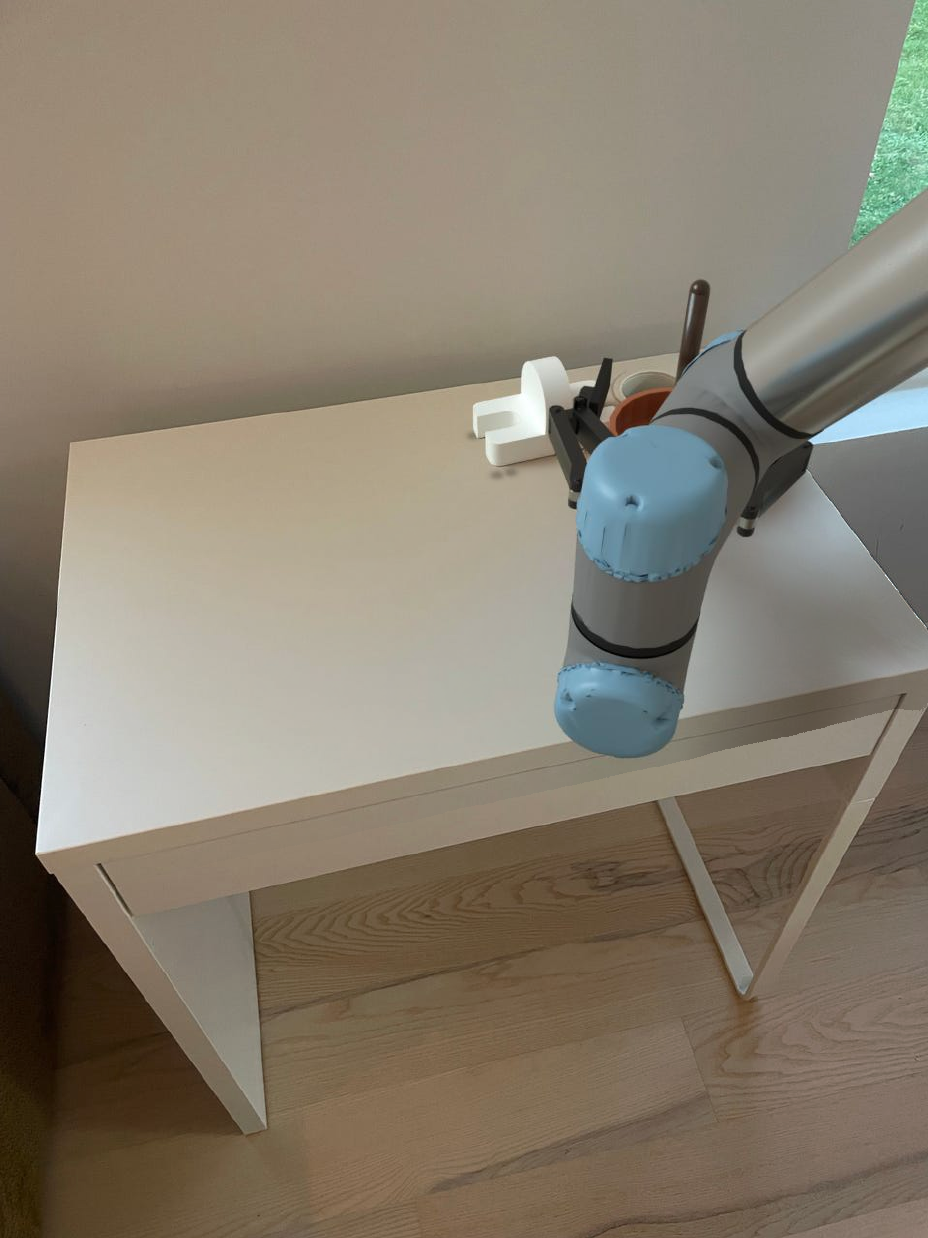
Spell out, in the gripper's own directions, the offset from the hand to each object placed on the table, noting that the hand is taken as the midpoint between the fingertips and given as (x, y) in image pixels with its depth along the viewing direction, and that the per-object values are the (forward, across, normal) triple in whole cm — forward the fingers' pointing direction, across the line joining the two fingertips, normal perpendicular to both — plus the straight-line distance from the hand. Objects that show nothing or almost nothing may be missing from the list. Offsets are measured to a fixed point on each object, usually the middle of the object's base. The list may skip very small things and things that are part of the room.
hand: (688, 382), depth 81 cm
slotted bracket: (+6, -13, -12) cm, 18 cm away
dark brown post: (+1, 0, -11) cm, 11 cm away
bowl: (+1, 0, -12) cm, 12 cm away
